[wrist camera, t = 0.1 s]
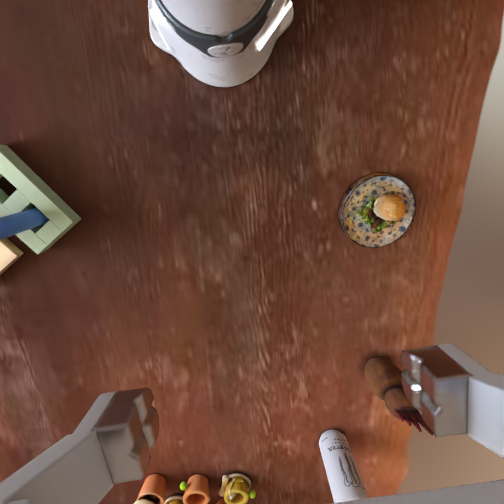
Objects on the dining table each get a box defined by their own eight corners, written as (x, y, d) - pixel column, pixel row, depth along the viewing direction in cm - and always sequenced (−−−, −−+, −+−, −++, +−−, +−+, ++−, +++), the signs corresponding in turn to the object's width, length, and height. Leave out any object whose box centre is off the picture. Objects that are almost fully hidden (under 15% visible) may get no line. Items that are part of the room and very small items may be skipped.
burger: (324, 224, 48) (338, 237, 41) (366, 158, 45) (390, 159, 38) (381, 257, 50) (405, 274, 43) (426, 196, 47) (459, 204, 40)
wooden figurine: (398, 359, 57) (450, 427, 43) (382, 380, 59) (426, 453, 45) (370, 347, 56) (414, 413, 42) (354, 369, 58) (390, 440, 44)
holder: (6, 144, 42) (-8, 144, 40) (81, 218, 46) (73, 222, 44) (-29, 181, 44) (-44, 182, 41) (47, 249, 48) (37, 254, 45)
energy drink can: (348, 429, 63) (380, 510, 49) (340, 449, 65) (368, 533, 51) (322, 425, 62) (346, 506, 48) (314, 446, 64) (335, 529, 50)
